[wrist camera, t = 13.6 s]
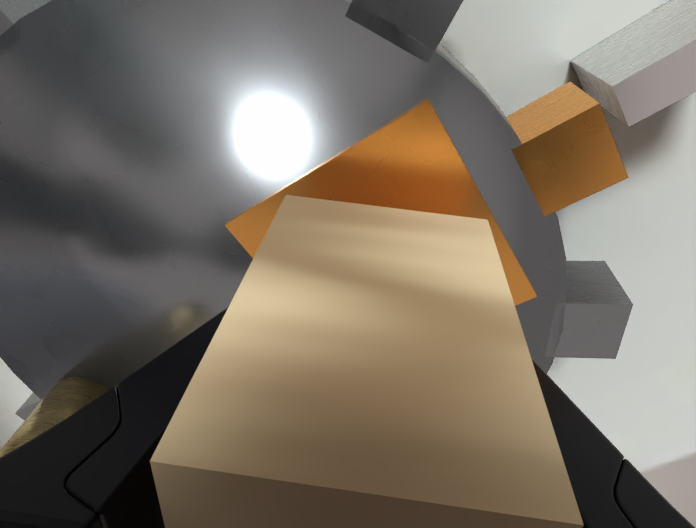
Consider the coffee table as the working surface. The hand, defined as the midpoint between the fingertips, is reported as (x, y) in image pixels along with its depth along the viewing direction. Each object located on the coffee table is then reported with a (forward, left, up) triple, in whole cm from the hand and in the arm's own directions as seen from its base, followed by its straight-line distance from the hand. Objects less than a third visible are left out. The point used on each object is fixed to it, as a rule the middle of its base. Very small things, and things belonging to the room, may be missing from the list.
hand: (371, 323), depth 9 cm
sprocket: (-3, -3, -5) cm, 6 cm away
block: (0, 0, -1) cm, 1 cm away
